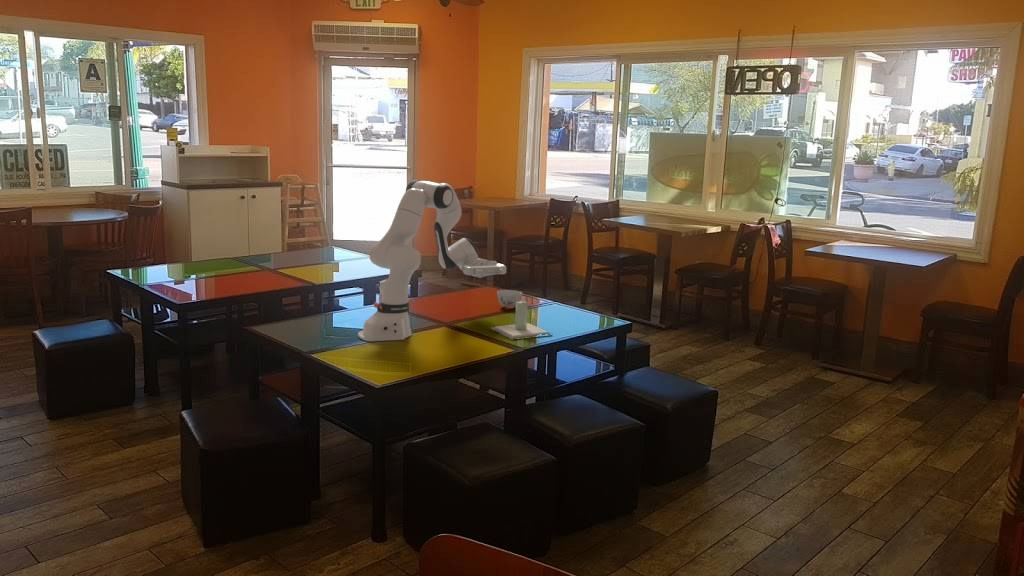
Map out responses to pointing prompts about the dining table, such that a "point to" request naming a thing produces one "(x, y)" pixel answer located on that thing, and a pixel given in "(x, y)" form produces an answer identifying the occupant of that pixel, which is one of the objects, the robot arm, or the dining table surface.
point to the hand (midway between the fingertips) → (492, 272)
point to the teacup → (509, 297)
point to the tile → (513, 333)
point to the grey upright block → (521, 315)
